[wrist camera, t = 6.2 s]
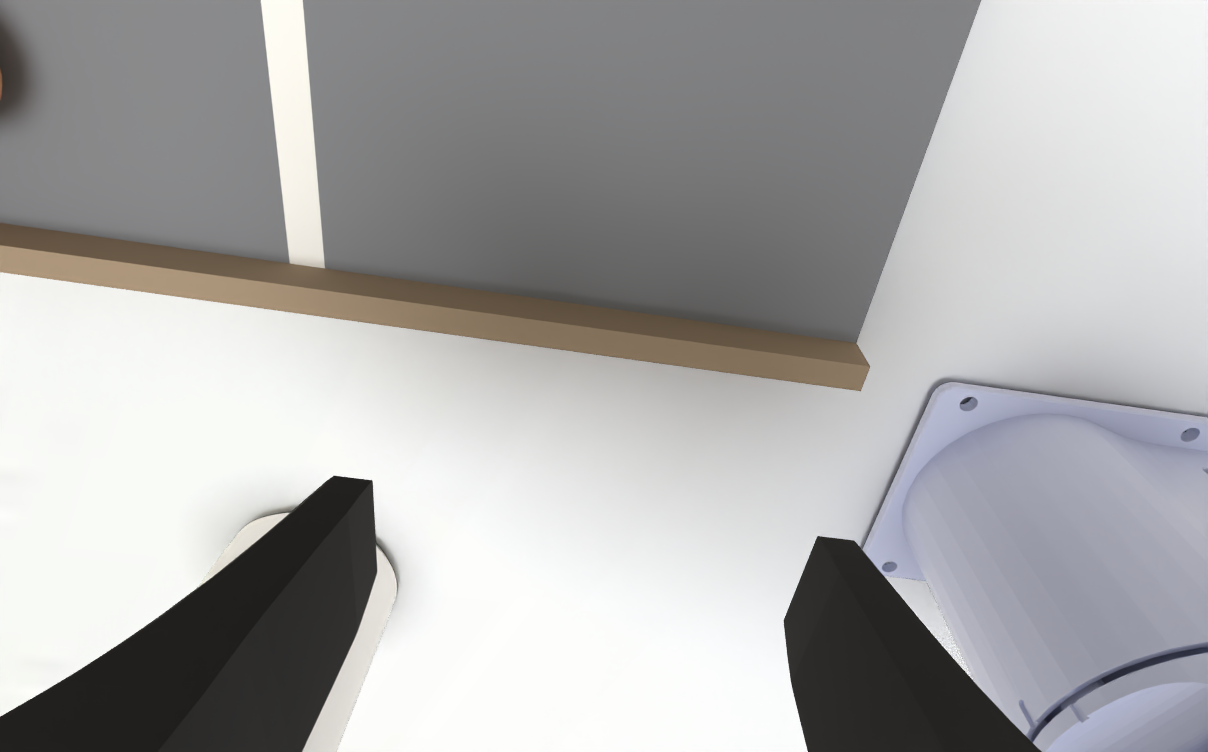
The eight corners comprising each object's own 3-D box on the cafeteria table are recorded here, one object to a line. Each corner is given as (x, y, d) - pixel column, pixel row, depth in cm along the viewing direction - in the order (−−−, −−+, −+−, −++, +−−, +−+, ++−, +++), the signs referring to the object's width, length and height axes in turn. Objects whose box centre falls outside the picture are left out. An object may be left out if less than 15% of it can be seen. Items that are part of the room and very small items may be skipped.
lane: (1006, -102, 15) (1068, -116, 13) (842, 356, 21) (865, 400, 19) (-258, -305, 14) (-420, -357, 12) (-57, 231, 20) (-140, 261, 18)
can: (378, 501, 25) (188, 881, 14) (417, 622, 28) (285, 1004, 17) (208, 506, 25) (-94, 877, 15) (266, 625, 28) (51, 997, 18)
